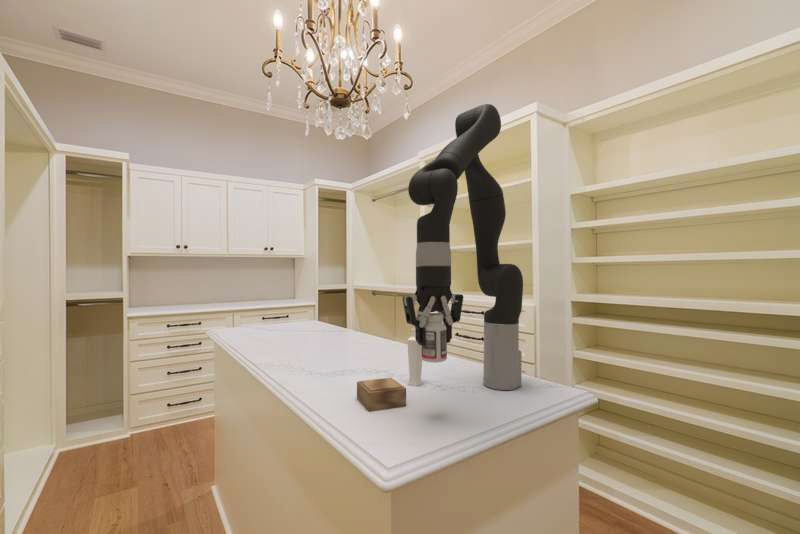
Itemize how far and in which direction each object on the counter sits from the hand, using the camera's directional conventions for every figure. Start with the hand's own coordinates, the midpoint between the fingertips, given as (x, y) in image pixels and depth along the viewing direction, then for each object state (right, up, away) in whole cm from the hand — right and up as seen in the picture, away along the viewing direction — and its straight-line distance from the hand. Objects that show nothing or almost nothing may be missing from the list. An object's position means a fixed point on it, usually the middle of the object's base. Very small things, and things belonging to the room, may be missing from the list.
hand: (433, 343), depth 78 cm
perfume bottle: (-3, -16, +23) cm, 28 cm away
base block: (-12, -16, +8) cm, 21 cm away
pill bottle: (0, -4, 0) cm, 4 cm away
